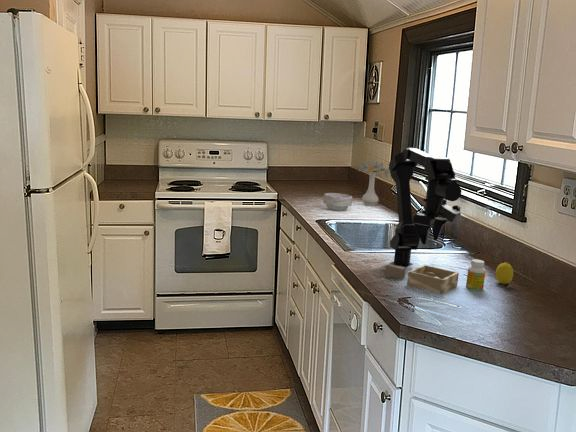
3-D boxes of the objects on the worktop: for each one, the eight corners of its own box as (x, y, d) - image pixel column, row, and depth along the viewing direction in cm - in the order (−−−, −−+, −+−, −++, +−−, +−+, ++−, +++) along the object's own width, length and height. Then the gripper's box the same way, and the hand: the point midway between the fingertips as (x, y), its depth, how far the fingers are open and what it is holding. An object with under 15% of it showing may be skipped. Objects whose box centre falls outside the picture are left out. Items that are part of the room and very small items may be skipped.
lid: (386, 272, 208) (388, 259, 207) (419, 280, 200) (421, 267, 200) (369, 279, 198) (370, 265, 197) (402, 288, 191) (404, 274, 190)
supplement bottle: (471, 292, 189) (475, 263, 187) (462, 287, 194) (466, 258, 192) (486, 292, 190) (490, 263, 188) (476, 287, 195) (480, 258, 193)
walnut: (427, 279, 198) (428, 270, 197) (436, 282, 196) (437, 272, 195) (422, 281, 195) (423, 272, 194) (432, 284, 193) (433, 274, 192)
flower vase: (390, 207, 334) (394, 163, 329) (359, 206, 329) (363, 161, 324) (380, 203, 346) (384, 160, 341) (351, 202, 341) (354, 159, 336)
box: (422, 278, 200) (424, 264, 199) (456, 287, 193) (458, 272, 192) (406, 286, 191) (408, 271, 190) (442, 295, 184) (443, 280, 183)
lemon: (497, 281, 203) (500, 259, 202) (513, 285, 200) (517, 262, 198) (491, 284, 199) (494, 261, 197) (508, 288, 196) (511, 265, 194)
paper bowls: (356, 209, 320) (357, 195, 318) (343, 213, 307) (344, 198, 305) (331, 205, 328) (332, 191, 326) (317, 209, 315) (318, 194, 313)
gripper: (447, 202, 182) (441, 251, 185) (469, 196, 197) (463, 242, 200) (414, 196, 189) (408, 244, 192) (438, 191, 203) (432, 236, 206)
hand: (429, 242), depth 197 cm, fingers open, 9 cm apart
